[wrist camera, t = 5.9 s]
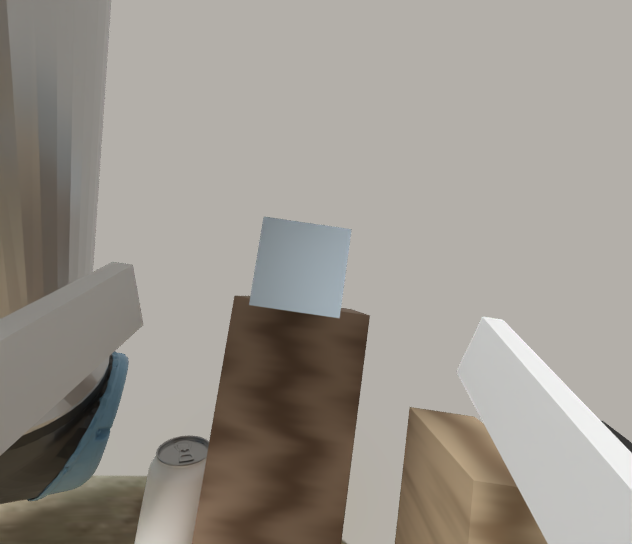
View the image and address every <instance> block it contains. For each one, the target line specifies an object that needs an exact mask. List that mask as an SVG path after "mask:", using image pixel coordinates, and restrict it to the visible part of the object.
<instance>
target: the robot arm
mask: <svg viewBox="0 0 632 544" xmlns="http://www.w3.org/2000/svg"><path fill="white" fill-rule="evenodd" d="M110 9H111V0H0V504H4V503H9V502H15V501H21V500H26V499H27V500H28V501H35V500H38V499H42V498H44V497H46V496H47V495H50V494H55V493H59V492H64V491H69V490H72V489H75V488H77V487H79V486H81V485H83V484H84V483H85V482H86V481H88V480H89V479H90V477H91V476H92V475H93V474H94V472H95V470H96V469H97V467H98V465H99V463H100V460H101V458H102V455H103V452H104V450H105V447H106V444H107V441H108V438H109V434H110V428H111V427H112V424H113V421H114V419H115V416H116V413H117V410H118V406H119V403H120V399H121V396H122V391H123V388H124V384H125V380H126V375H127V370H128V358H127V357H126V356H125V354H122V353H116V352H115V350H116V349H118V348H119V346H121V345H122V344H123V343H124V342H125V341H126V340H127V339H128V338H129V337H131V336H132V335H133V334H134V333H135V332H136V331H137V330H138V329H139V328H140V327H142V326H143V321H142V314H141V309H140V303H139V297H138V292H137V286H136V280H135V275H134V269H133V265H130V264H124V263H117V262H111V263H110V264H108V265H106V266H104V267H102V268H100V269H98V270H96V271H94V272H93V263H94V247H95V233H96V217H97V202H98V188H99V172H100V158H101V142H102V128H103V114H104V99H105V83H106V68H107V53H108V39H109V24H110ZM456 372H457V374H458V376H459V378H460V380H461V382H462V384H463V386H464V387H465V389H466V391H467V393H468V395H469V397H470V399H471V400H472V402H473V404H474V406H475V408H476V410H477V412H478V413H479V416H480V417H481V419H482V421H483V423H484V425H485V427H486V429H487V431H488V432H489V434H490V436H491V438H492V440H493V442H494V444H495V446H496V447H497V449H498V451H499V453H500V455H501V457H502V459H503V461H504V463H505V464H506V466H507V468H508V470H509V472H510V474H511V476H512V478H513V479H514V481H515V483H516V485H517V487H518V489H519V491H520V493H521V494H522V496H523V498H524V500H525V502H526V504H527V506H528V508H529V509H530V511H531V513H532V515H533V517H534V519H535V521H536V523H537V524H538V526H539V528H540V530H541V532H542V534H543V536H544V538H545V540H546V541H547V543H548V544H632V443H631V442H630V441H629V440H627V439H626V438H625V437H623V436H622V435H621V434H619V433H618V432H617V431H615V430H614V429H613V428H611V427H610V426H609V425H607V424H606V423H605V422H603V421H600V420H599V419H598V418H597V417H596V416H595V415H594V414H593V412H592V411H591V410H589V408H588V407H587V406H586V405H585V404H584V403H583V402H582V401H581V400H580V399H579V398H578V397H577V396H576V395H575V394H574V393H573V392H572V391H571V390H570V389H569V388H568V387H567V386H566V384H565V383H564V382H563V381H562V380H561V379H560V378H559V377H558V376H557V375H556V374H555V373H554V372H553V371H552V370H551V369H550V368H549V367H548V366H547V365H546V364H545V363H544V362H543V361H542V360H541V359H540V358H539V357H538V356H537V355H536V353H534V351H533V350H532V349H531V348H530V347H529V346H528V345H527V344H526V343H525V342H524V341H523V340H522V339H521V338H520V337H519V336H518V335H517V334H516V333H515V332H514V331H513V330H512V329H511V328H510V327H509V326H508V324H507V323H506V322H505V321H504V320H501V319H495V318H488V317H482V318H481V321H480V323H479V325H478V327H477V329H476V331H475V333H474V335H473V337H472V339H471V342H470V344H469V346H468V348H467V350H466V352H465V354H464V357H463V359H462V361H461V363H460V365H459V367H458V369H457V371H456Z"/></svg>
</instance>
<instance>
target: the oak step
mask: <svg viewBox="0 0 632 544" xmlns="http://www.w3.org/2000/svg"><path fill="white" fill-rule="evenodd" d="M395 544H548V543H547V541H546V540H545V538H544V536H543V534H542V532H541V530H540V528H539V526H538V524H537V523H536V521H535V519H534V517H533V515H532V513H531V511H530V509H529V508H528V506H527V504H526V502H525V500H524V498H523V496H522V494H521V493H520V491H519V489H518V487H517V485H516V483H515V481H514V479H513V478H512V476H511V474H510V472H509V470H508V468H507V466H506V464H505V463H504V461H503V459H502V457H501V455H500V453H499V451H498V449H497V447H496V446H495V444H494V442H493V440H492V438H491V436H490V434H489V432H488V431H487V429H486V427H485V425H484V424H483V423H482V422H480V421H479V420H478V419H477V418H475V417H473V416H465V415H460V414H452V413H446V412H439V411H433V410H426V409H419V408H412V407H410V410H409V419H408V428H407V437H406V446H405V456H404V465H403V474H402V483H401V492H400V501H399V510H398V521H397V529H396V538H395Z"/></svg>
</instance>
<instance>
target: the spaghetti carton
mask: <svg viewBox="0 0 632 544" xmlns="http://www.w3.org/2000/svg"><path fill="white" fill-rule="evenodd" d="M350 237H351V229H346V228H339V227H332V226H325V225H318V224H312V223H305V222H298V221H291V220H284V219H277V218H270V217H264V218H263V224H262V230H261V236H260V242H259V248H258V254H257V260H256V266H255V272H254V278H253V284H252V290H251V296H250V302H249V305H253V306H259V307H266V308H273V309H280V310H287V311H293V312H300V313H307V314H314V315H321V316H327V317H334V318H340V311H341V304H342V295H343V288H344V281H345V274H346V267H347V259H348V251H349V245H350Z"/></svg>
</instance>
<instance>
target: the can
mask: <svg viewBox="0 0 632 544" xmlns="http://www.w3.org/2000/svg"><path fill="white" fill-rule="evenodd" d="M208 447H209V441H207V440H206V439H204V438H202V437H198V436H180V437H176V438H173V439H170V440H168V441H166V442H164V443H163V444H162V445H160V446H159V448H158V449H157V452H156V456H155V458H154V459H153V461H152V463H151V465H150V468H149V471H148V476H147V481H146V486H145V491H144V496H143V501H142V506H141V512H140V517H139V522H138V527H137V533H136V538H135V543H134V544H192V539H193V533H194V527H195V522H196V516H197V510H198V504H199V499H200V493H201V487H202V481H203V475H204V470H205V464H206V458H207V452H208Z"/></svg>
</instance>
